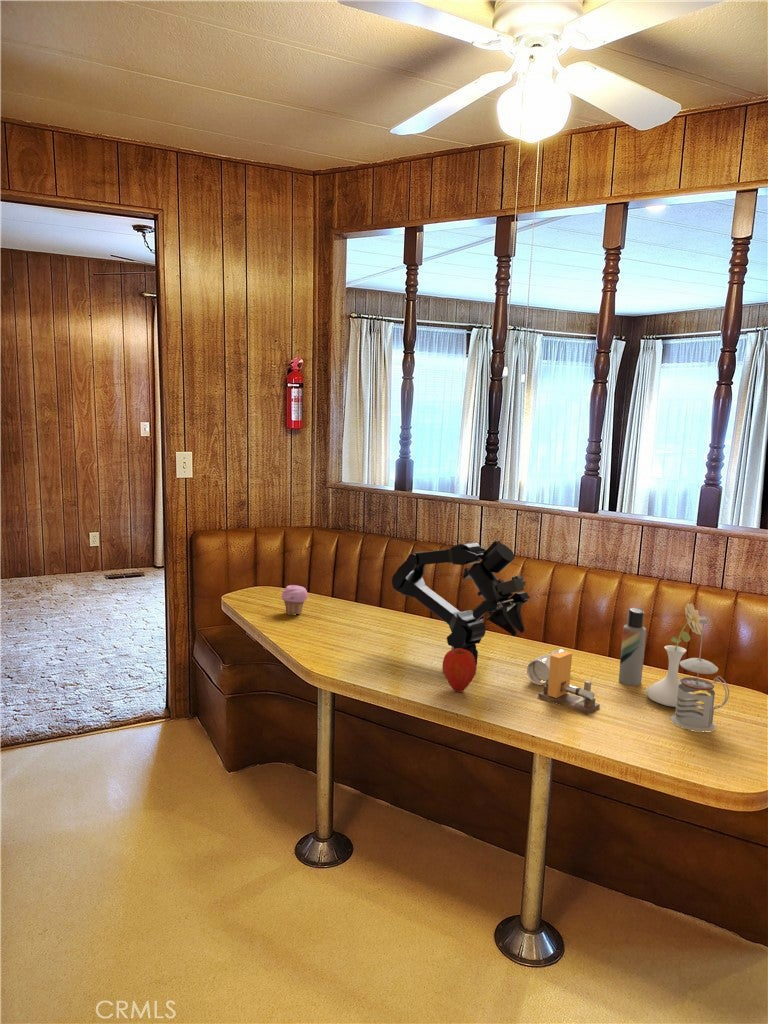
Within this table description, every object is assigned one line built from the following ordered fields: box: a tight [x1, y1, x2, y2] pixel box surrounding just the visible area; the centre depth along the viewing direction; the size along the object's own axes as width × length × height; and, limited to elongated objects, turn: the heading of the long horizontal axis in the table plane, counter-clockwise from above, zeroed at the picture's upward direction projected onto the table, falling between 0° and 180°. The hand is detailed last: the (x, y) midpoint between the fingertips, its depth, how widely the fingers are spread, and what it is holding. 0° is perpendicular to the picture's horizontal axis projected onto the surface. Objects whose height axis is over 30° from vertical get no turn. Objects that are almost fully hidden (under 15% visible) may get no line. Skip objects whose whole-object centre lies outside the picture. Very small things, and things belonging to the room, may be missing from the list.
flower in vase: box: [645, 602, 705, 708], centre depth 169 cm, size 13×11×25 cm
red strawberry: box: [441, 648, 477, 693], centre depth 171 cm, size 9×8×11 cm
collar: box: [548, 650, 573, 698], centre depth 168 cm, size 2×6×10 cm, turn 135°
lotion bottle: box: [618, 607, 647, 687], centre depth 182 cm, size 6×6×20 cm
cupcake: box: [281, 584, 308, 616], centre depth 233 cm, size 9×9×10 cm
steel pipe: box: [545, 678, 595, 700], centre depth 167 cm, size 12×2×2 cm, turn 45°
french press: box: [669, 617, 730, 733], centre depth 156 cm, size 10×12×25 cm
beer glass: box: [526, 648, 565, 686], centre depth 183 cm, size 7×7×15 cm
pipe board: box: [537, 680, 601, 715], centre depth 168 cm, size 13×8×5 cm, turn 45°
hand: (519, 633), depth 176 cm, fingers open, 3 cm apart
